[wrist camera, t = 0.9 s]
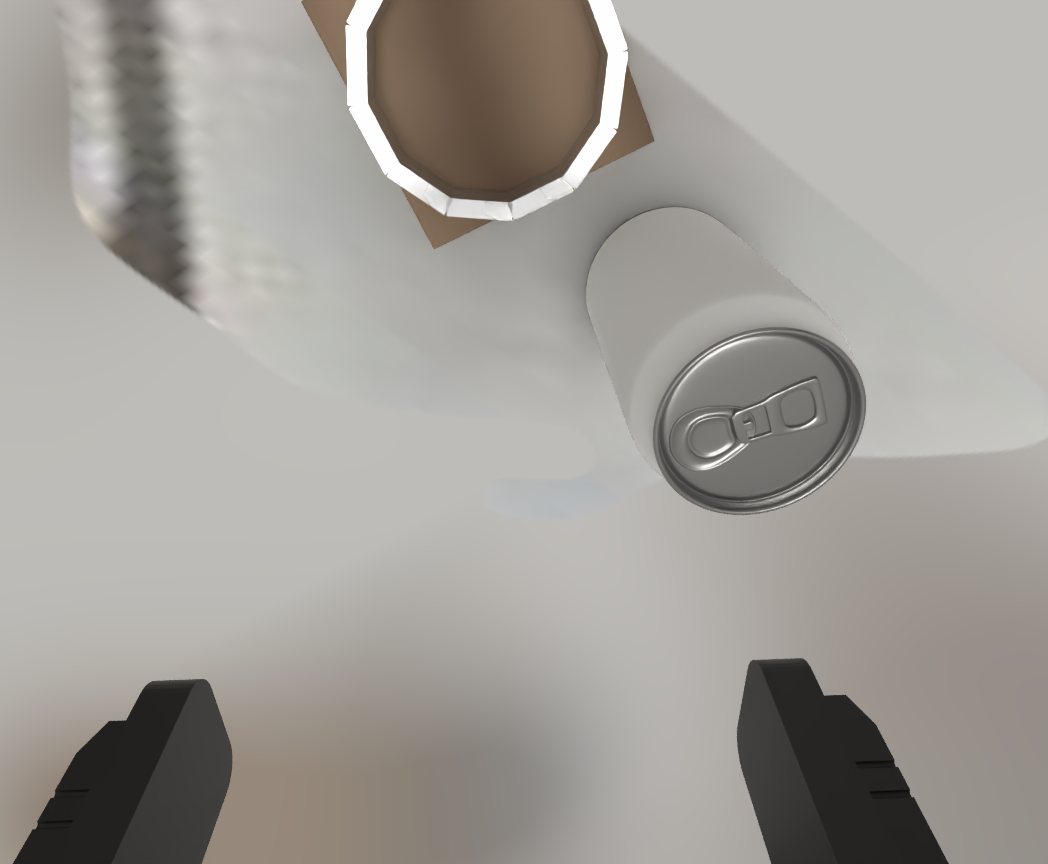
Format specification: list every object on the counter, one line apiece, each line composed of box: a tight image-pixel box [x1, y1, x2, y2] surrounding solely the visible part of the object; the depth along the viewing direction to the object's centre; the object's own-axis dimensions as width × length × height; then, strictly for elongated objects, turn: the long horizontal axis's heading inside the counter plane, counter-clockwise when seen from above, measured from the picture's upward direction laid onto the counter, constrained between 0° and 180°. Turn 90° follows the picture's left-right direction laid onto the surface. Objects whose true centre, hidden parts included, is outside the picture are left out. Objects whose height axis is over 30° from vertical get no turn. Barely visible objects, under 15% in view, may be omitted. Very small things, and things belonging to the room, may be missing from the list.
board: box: [301, 0, 654, 249], centre depth 25 cm, size 9×9×1 cm
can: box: [586, 207, 866, 515], centre depth 25 cm, size 6×6×12 cm
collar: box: [346, 0, 628, 221], centre depth 24 cm, size 9×9×2 cm
